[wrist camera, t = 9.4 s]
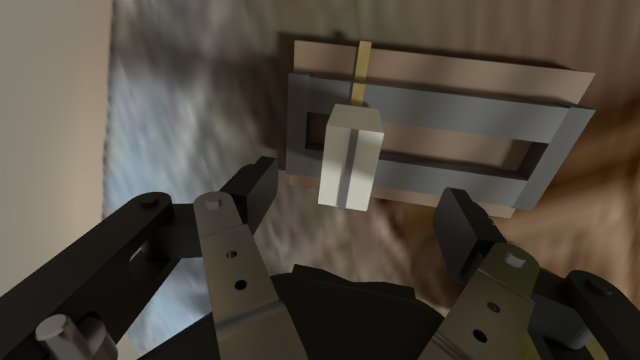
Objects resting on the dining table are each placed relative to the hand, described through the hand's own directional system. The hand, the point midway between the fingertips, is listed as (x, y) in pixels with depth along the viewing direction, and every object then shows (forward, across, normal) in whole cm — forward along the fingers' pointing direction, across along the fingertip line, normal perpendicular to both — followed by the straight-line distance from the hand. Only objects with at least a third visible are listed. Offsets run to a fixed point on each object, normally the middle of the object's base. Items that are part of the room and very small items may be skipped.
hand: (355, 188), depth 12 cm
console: (+12, -4, 0) cm, 12 cm away
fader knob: (+9, +1, 0) cm, 9 cm away
